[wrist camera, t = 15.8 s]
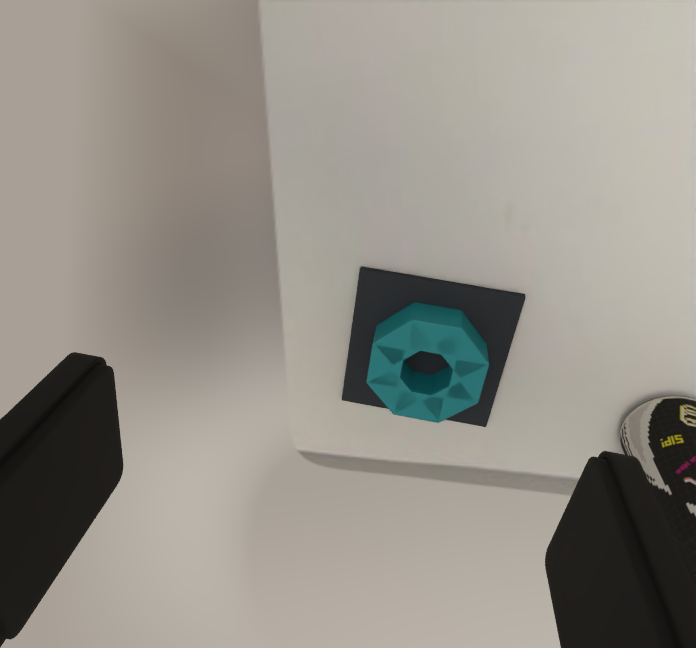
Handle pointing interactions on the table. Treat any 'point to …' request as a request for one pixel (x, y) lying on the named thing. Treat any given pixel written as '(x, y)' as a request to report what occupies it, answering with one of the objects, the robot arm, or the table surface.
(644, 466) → the beverage can
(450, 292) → the mat
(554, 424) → the table surface
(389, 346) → the ring
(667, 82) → the table surface
